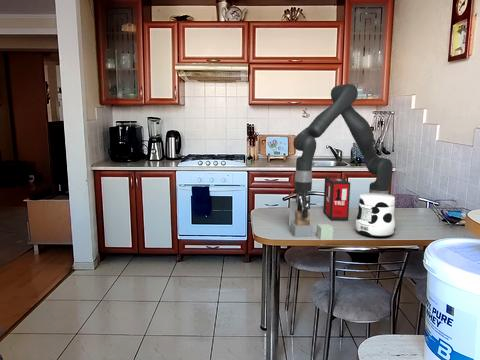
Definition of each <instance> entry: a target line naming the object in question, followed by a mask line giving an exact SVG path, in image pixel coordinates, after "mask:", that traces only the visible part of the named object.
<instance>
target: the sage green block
mask: <svg viewBox="0 0 480 360" xmlns="http://www.w3.org/2000/svg"><path fill="white" fill-rule="evenodd" d="M316 237H317V238H318V239H319V240H320V241H326V240H331V241H332V240H333V239H334V227H333V226H332V225H331V224H328V223H322V224H319V223H318V224H317V225H316Z"/></svg>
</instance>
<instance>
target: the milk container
mask: <svg viewBox="0 0 480 360" xmlns="http://www.w3.org/2000/svg"><path fill="white" fill-rule="evenodd" d="M358 201H359V202H358V211H357V216H356V219H355V229H356V231H357V232H358V233H360V234H362V235H364V236H367V237H374V238H386V237H390V236H392V235H393V234H394V233H395V230H396V220H395V206H396V205H395V204H396V197H395V196H394V195H391V194H389V193H388V194H383V193H369V192H363V193H360V195H359V199H358Z"/></svg>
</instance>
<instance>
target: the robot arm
mask: <svg viewBox="0 0 480 360" xmlns="http://www.w3.org/2000/svg"><path fill="white" fill-rule="evenodd" d="M358 94H359V91H358V88H357V86H356V85H354V84H352V83H344V84H339V85H336V86H334V87H332V89H331V91H330V98H331V101H332V104H330V105H329V106H328V107H327V108H325V109H324V110H322V111H321V112H320V113H319V114H318V115H317V116H316V117H315V118H314V119H313V120H312V121H311V123H310V124H309V126H307V127H305V128H304V129H303V130H301V131H300V132H299V133H297V135H296V136H295V138H294V140H293V144H292V145H293V147H294V149H295V150H297V151H299V152H302V153H301V156H299V157H296V161H295V174H294V190H295V199H296V202H297V210H302V208H303V214H302V217H303V218H307V217H308V212H309V210H310V209H311V195H309V194H308V193H309V192H311V191H312V187H313V184H312V183H313V171H312V169H313V159H314V157H315V153H316V149H317V141H316V139H317V138H320V137H321V136H322V135H323V134H324V133H325V132H326V131H327V129H328V128H329V127H330V126H331V124H332V123H333V122H334V121H335V120H336V119H337V118H338V117H339V116H340V115H341V117H342V118H343V121H344V123H345V124H346V126H347V127H348V130H349V132H350V134H351V136H352V139H353V140H354V143H356V145H357V147H358V149H359V151H360V153H361V156H362V157H363V161H364V165H365V166H366V168H367V170H368V173H370V174H371V175H373V176H375V177H376V178H375V181H373V182H370V184H369V187H368V189H369V190H368V193H383V194H388V195H389V190H390V186H391V183H392V178H393V169H394V167H393V166H394V165H393V163H392V161H391V160H390V158H385V157H380V156H379V155H378V154H377V152H376V150H375V147H374V141H375V140H374V139H375V136H374V132H373V130H372V129H373V128H372V127H371V126H370V124H369V122H368V121H367V119H366V118H364V116H363V115H361V114H360V113H359V112H358V111H356V110H355V108H354V107H353V106H352V104H354V103H355V101H357V98H358V97H359V95H358Z"/></svg>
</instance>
